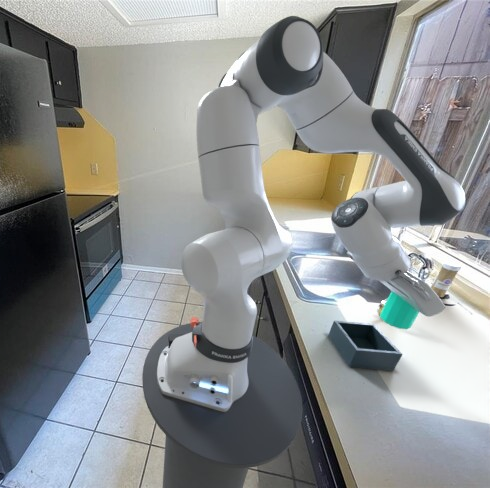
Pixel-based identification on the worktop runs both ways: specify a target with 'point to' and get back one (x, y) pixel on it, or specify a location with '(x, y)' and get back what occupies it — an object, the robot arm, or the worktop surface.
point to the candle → (398, 312)
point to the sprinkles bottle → (445, 278)
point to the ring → (381, 306)
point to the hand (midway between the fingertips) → (408, 299)
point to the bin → (364, 346)
